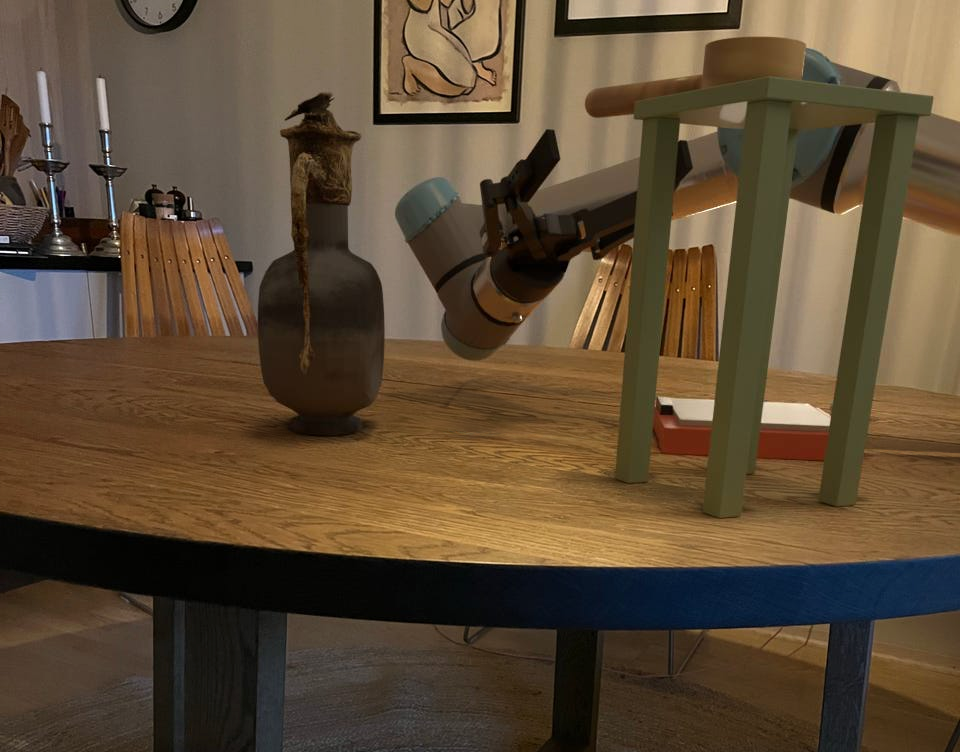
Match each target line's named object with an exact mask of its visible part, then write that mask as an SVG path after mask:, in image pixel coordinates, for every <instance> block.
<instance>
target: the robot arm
mask: <svg viewBox="0 0 960 752" xmlns="http://www.w3.org/2000/svg"><path fill="white" fill-rule="evenodd" d="M802 80H803V81H812V82H820V83H829V84H837V85H845V86H854V87H862V88H870V89H879V90H887V91H895V92H902V91H901V89H900V85H899V84H898V82H897V81H896V80H892V79H889V78H886V77H883V76H880V75H875V74H873V73H870V72H866V71H863V70H859V69H856V68H853V67H850V66H846V65H843V64H840V63H837V62H833V61H831V60H830V59H829V57H827V56H826V55H825V56H824V54H823V53H822V52H820V51H818V50H816V49H814V48H810V47H806V52H805V60H804V68H803V76H802ZM874 127H875V122H872V123H863V124H855V125H846V126H837V127H829V128H820V129H811V130H803V131H798V134H797V142H796V150H795V158H794V166H793V174H792V182H791V189H790V197H789V200H792V201H795V202H799V203H802V204H805V205H807V206H811V207H814V208H816V209H818V210H821V211H825V212H828V213H831V214H834V215H837V216H841V215H844V214H846V213H848V212H850V211H852V210H854V209H856V208H858V207H860V206H863V200H864V193H865V187H866V180H867V173H868V167H869V160H870V154H871V147H872V140H873V134H874ZM716 129H717V130H716V131H714V132H711V133H707V134H705V135H702V136H699V137H696V138H692V139H690V140H685V139H679V140H678V151H677V162H676V174H675V185H674V196H673V207H672V218H671V222H672V221H675V220H679V219H682V218H685V217H686V218H687V217H690V216H694V215H696V214H700V213H704V212H707V211H711V210H714V209H717V208H720V207H725V206H727V205H731V204H736V200H737V191H738V182H739V173H740V164H741V154H742V145H743V136H744V129H734V128H723V127H716ZM557 140H558V139H557V136H556V131H555V129H550V128H549V129H548V128H546V129H545V130H544V132H543V133H542V135H541V137H540V138H539V139H538V141H537V142H536V143H535V144H534V146H533V148H532V149H531V151H530V152H529V154H528V155H527V157H526V158H525V159H524V158H523V159H520V160H518V161H517V162H516V163H515V165H514V166H513V168H512V169H511V170H510V172H509V173H508V175H506V176H504V177H502V178H501V179H500V181H499V182H494V181H493V180H492V179H490V178H486V179H482V180H481V181H480V182H479V190H480V191H479V192H480V197H481V204H476V203H466V202H463V201H462V200H461V198H460V193H459V192H458V191H457V190H456V189H455V188H454V186H453V185H452V183H451V181H449V180H448V178H446V177H441V176H435V177H431V178H428V179H425V180H424V181H421V182H419V183H418V184H416V185H415V186H413V187H412V188H411V189H409V190H408V191H407V192H406V193H405V194H403V196H401V198H400V199H399V201H398V202H397V204H396V206H395V210H394V217H395V220H396V222H397V224H398V226H399V229H400V230H401V232H402V234H403V237H404V241H405V244H408V246H409V248H410V250H411V252H412V253H413V255H414V256H415V258H416V260H417V262H418V263H419V265H420V267H421V269H422V270H423V272H424V274H425V275H426V278H427V279H428V281H429V282H430V284H431V286H432V288H433V289H434V290H435V293H436V294H437V296H436V297H437V298H438V299H439V301H440V304H441V305H442V307H443V308H444V310H445V311H444V313H443V315H442V320H441V323H440V329H441V330H440V331H441V337H442V339H443V341H444V344H445V345H446V346H447V348H448V349H449V350H450V351H451V352H452V353H453V354H454V355H456V356H457V357H459V358H461V359H464V360H467V361H473V362H478V361H482V360H486V359H488V358H489V357H491V356H492V355H493V354H494V353H496V352H497V351H498V350H499V349H501V347H502V346H505V345H506V344H507V343H508V342H509V341H510V339H511V337H512V336H513V334H514V333H515V332H516V331H517V330H518V329H519V328H520V327H521V325H522V324H523V323H524V322H525V320H526V319H528V317H529V316H531V314H532V313H533V312H534V311H535V310H536V309H537V308H538V307H539V305H541V303H542V302H543V301H544V300H545V299H546V298H547V297H548V296H549V295H550V294H552V292H553V291H554V289H556V287H557V286H558V285H559V284H560V283H561V282H562V280H563V279H564V278H565V276H566V273H567V271H568V267H569V264H570V262H571V260H572V259H574V258H575V257H577V256H579V255H581V253H582V252H583V253H591V257H592V260H593V261H600V260H602V259H604V258H605V257H606V256H608V254H610V253H611V252H612V251H613V250H614V249H616V248H619V247H620V246H622V245H623V244H625V243H627V242H629V241H631V240H634V228H635V215H636V202H637V189H638V176H639V163H640V156H637V157H635V158H632V159H629V160H626V161H623V162H620V163H617V164H613V165H611V166H608V167H605V168H602V169H599V170H596V171H592V172H590V173H587V174H583V175H581V176H577V177H574V178H572V179H568V180H566V181H563V182H559V183H556V184H554V185H553V184H552V185H551V186H548V187H547V186H546V187H544V188H541V189H540V187H541V186H542V185H543V183H544V182H545V181H546V180H547V178H548V177H549V176H550V174H551V173H552V172H553V170H554V169H555V168H556V167H557V165H558V163H559V162H560V161H561V154H560V149H559V145H558V141H557ZM903 219H904V220H907V221H910V222H913V223H916V224H919V225H922V226H925V227H927V228H930V229H933V230H937V231H939V232H943V233H945V234H948V235H952V236H953V237H958V238H960V121H959V120H956V119H952V118H950V117H945V116H942V115H939V114H937V113H933V112H931V115H930V116H924V117H919V121H918V128H917V134H916V140H915V146H914V152H913V158H912V164H911V170H910V176H909V182H908V189H907V195H906V201H905V207H904V213H903Z"/></svg>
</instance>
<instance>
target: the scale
mask: <svg viewBox="0 0 960 752" xmlns="http://www.w3.org/2000/svg"><path fill="white" fill-rule="evenodd" d="M714 401H715V399H706V398H682V397H681V398H678V397H668V396H656V398H655V409H654V420H653V430H654V433H655V435H656V437H657V438H656V439H655V440H656V442H657V444H658V446H659V449H660V451H661V453H662V454H668V455H687V456H688V455H691V456H708V455H709V446H710V437H711V428H712V419H713V410H714ZM830 420H831V416H830V415H829V414H828V413H827V412H826V411H824V410H822V409H821V408H819V407H813V406H812V405H811V404H810V403H802V402H800V403H798V402H780V401H779V402H776V401H764V403H763V411H762V419H761V427H760V434H759V442H758V450H757V458H758V459H777V460H779V459H780V460H799V461H800V460H801V461H820V462H821V461H823V462H824V459H825V453H826V446H827V440H828V433H829V426H830ZM757 458H756V459H757Z"/></svg>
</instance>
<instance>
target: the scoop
mask: <svg viewBox="0 0 960 752" xmlns="http://www.w3.org/2000/svg"><path fill="white" fill-rule="evenodd" d="M806 48H807V44H806V43H805V42H804V41H801V40H799V39H794V38H789V37H779V36H738V37H737V36H736V37H728V38H720V39H715V40H713V41H710V42H707V43H706V44H705V46H704V55H703V66H702V74H695V75H688V76H680V77H672V78H664V79H658V80H657V79H656V80H649V81H642V82H636V83H635V82H634V83H627V84H619V85H612V86H605V87H604V86H603V87H597V88H593V89H591V90H590V91H589V92H588V93H587V94H586V96H585V99H584V108H585V111H586V113H587V114H588V115H589V116H590V117H592V118H594V119H601V118H612V117H621V116H631V115H634V107H635V101H640V100H645V99H651V98H656V97H661V96H667V95H672V94H677V93H683V92H688V91H693V90H699V89H704V88H709V87H715V86H720V85H725V84H731V83H736V82H742V81H747V80H752V79H758V78H763V77H768V76H770V77H778V78H787V79H795V80H802V76H803V68H804V60H805V52H806Z"/></svg>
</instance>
